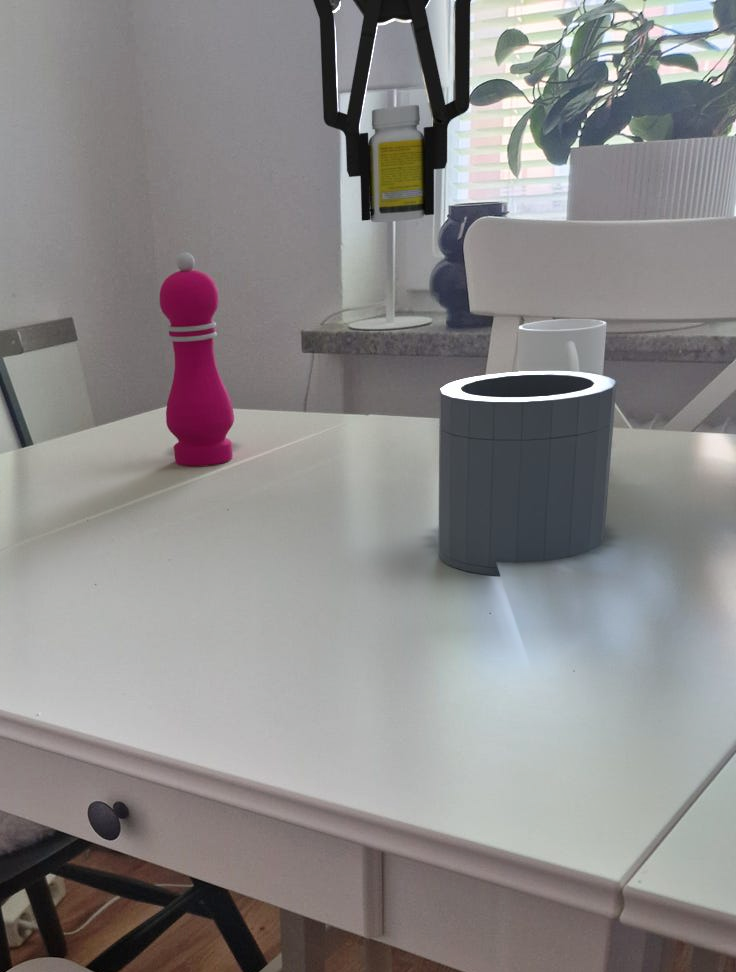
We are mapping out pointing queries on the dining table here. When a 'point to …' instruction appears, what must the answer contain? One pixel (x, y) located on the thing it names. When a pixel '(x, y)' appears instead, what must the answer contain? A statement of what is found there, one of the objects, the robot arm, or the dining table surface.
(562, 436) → the open container
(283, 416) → the dining table surface
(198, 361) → the pepper mill
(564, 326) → the mug
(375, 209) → the supplement bottle
